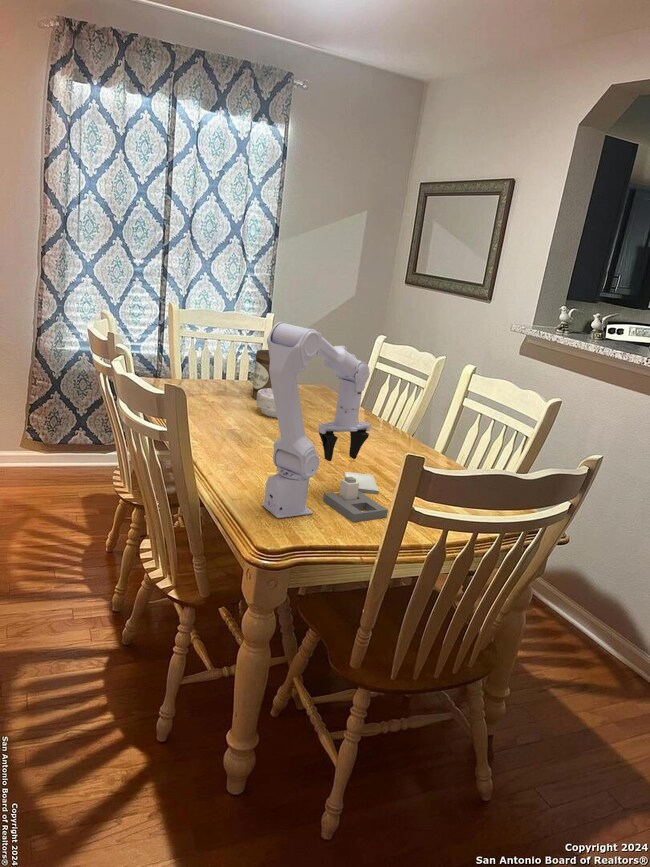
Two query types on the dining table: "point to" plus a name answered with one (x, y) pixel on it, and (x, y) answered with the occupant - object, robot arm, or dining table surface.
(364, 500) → the socket panel
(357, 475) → the hard drive
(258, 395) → the paper bowls
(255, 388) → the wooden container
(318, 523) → the dining table surface
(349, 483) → the plug
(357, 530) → the dining table surface
